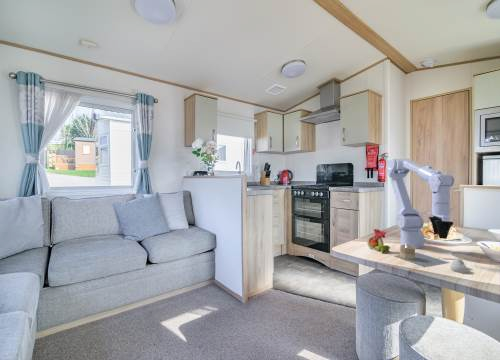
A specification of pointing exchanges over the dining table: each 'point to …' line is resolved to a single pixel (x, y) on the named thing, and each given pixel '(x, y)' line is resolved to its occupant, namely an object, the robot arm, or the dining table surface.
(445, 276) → the dining table surface
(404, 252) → the brown wooden block
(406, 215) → the robot arm
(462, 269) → the pale two-lobed sculpture
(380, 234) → the bird rattle
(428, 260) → the lacing board
